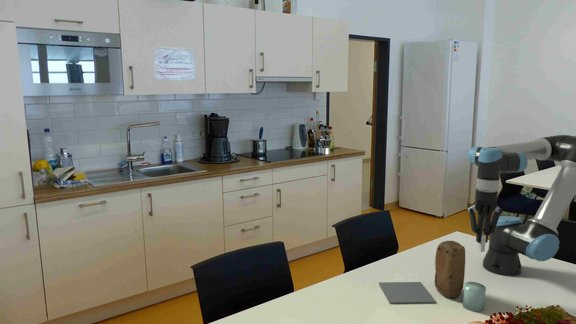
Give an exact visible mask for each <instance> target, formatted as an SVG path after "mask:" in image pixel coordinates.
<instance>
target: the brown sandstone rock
mask: <svg viewBox="0 0 576 324" xmlns="http://www.w3.org/2000/svg"><path fill="white" fill-rule="evenodd" d="M434 262H435V263H434V265H435V266H434V269H435V275H434V286H435V289H436V291H438V292H439V293H440V295H442V296H444V298H445V297H446V298H452V299H454V298H458V297H459V296H460V295H461V294H462V291H463V290H464V285H465V273H466V272H465V270H466V248H465V246H464V245H462V244H461V243H459V242H457V241H454V240H445V241H441V242H439V244H438V246H437V248H436V252H435V261H434Z"/></svg>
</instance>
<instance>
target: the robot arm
mask: <svg viewBox="0 0 576 324" xmlns="http://www.w3.org/2000/svg"><path fill="white" fill-rule="evenodd" d="M467 159H468V162H469V163H470V164H471V165H475V166H476V167H477V175H476V176H477V177H476V184H475V185H476V186H475V188H476V189H475V194H474V202H473V204H472V206H470V207H469V206H467V208H466V210H467V212H468V214H469V220H470V227H471V231H472V232H473V233H474V234H476V238H475V241H476V242H477V247H476V249H477V250H478V251H479V252H480V253H485V252H486V251H487V252H486V253H485V256H484V257H483V260H482V267H483V268H484V269H485V270H487V271H489V272H491V273H494V274H496V275H500V276H501V275H502V276H512V277H513V276H518V275H520V274H521V273H522V267H523V266H522V264H521V258H520V254H521V255H523V256H525V257H527V258H529V259H531V260H535V261H537V262H546V261H548V260H550V259H552V258H553V257H554V256H555V255H556V253H557V252H558V251H559V249H560V246H559V245H560V239H559V237H558V235H559V232H558V230H557V228H558V226H559V224H560V222H561V221H562V219H563V217H564V215H565V213H566V211H567V210H568V208H569V206H570V204H571V203H572V201H573V199H574V197H575V195H576V135H570V134H558V135H551V136H544V137H538V138H535V139H534V140H533V141H532V140H531V141H526V142H518V143H511V144H504V145H496V146H488V147H483V146H474V147H471V148H470V149H469V151H468V154H467ZM530 160H538V161H553V162H558V163H559V165H560V166H561V168H560V170H559V172H558V173H557V174H556V177H555V179H554V181H553V182H552V184H551V187H550V188H549V190H548V191H547V193H546V195H545V197H544V199H543V201H542V202H541V204H540V206H539V208H538V210H537V211H536V214H535V215H534V217H533V218H530V219H529V218H528V219H527V220H526V222H525V224H523V219H521V218H520V217H517V216H510V215H501V214H503V213H504V209H503V208H501V207H499V206H498V203H497V201H498V198H499V192H498V191H499V187H500V178H501V177H500V176H501V174H512V173H514V174H516V173H520V172H523V171H525V170H526V169H527V167H528V161H530ZM476 213H477V215H476ZM488 241H489V242H488ZM486 243H488V250H486V251H485V249H486Z"/></svg>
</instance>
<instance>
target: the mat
mask: <svg viewBox="0 0 576 324" xmlns="http://www.w3.org/2000/svg"><path fill="white" fill-rule="evenodd" d="M378 285H379V287H380V289H381V290H382V292H383V294H384V296H385V297H386V299H387V301H388V303H389V304H390V305H403V304H405V305H407V304H410V305H411V304H412V305H414V304H436V303H437V301H436V300H435V298H434V297H433V296H432V295H431V293H430V292H429V290H427V288H426V287H425V286H424V284H423V283H422V282H421V281H398V282H397V281H395V282H394V281H391V282H390V281H389V282H383V281H381V282H378Z"/></svg>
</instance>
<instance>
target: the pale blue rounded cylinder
mask: <svg viewBox="0 0 576 324" xmlns="http://www.w3.org/2000/svg"><path fill="white" fill-rule="evenodd" d="M486 291H487V287H486V286H485V285H484V284H482V283H480V282H477V281H476V282H475V281H467V282H464V285H463V299H462V308H464V309H465V310H467V311H470V312H474V313H481V312H483V311H484V310H485V302H486V300H485V299H486Z"/></svg>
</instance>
